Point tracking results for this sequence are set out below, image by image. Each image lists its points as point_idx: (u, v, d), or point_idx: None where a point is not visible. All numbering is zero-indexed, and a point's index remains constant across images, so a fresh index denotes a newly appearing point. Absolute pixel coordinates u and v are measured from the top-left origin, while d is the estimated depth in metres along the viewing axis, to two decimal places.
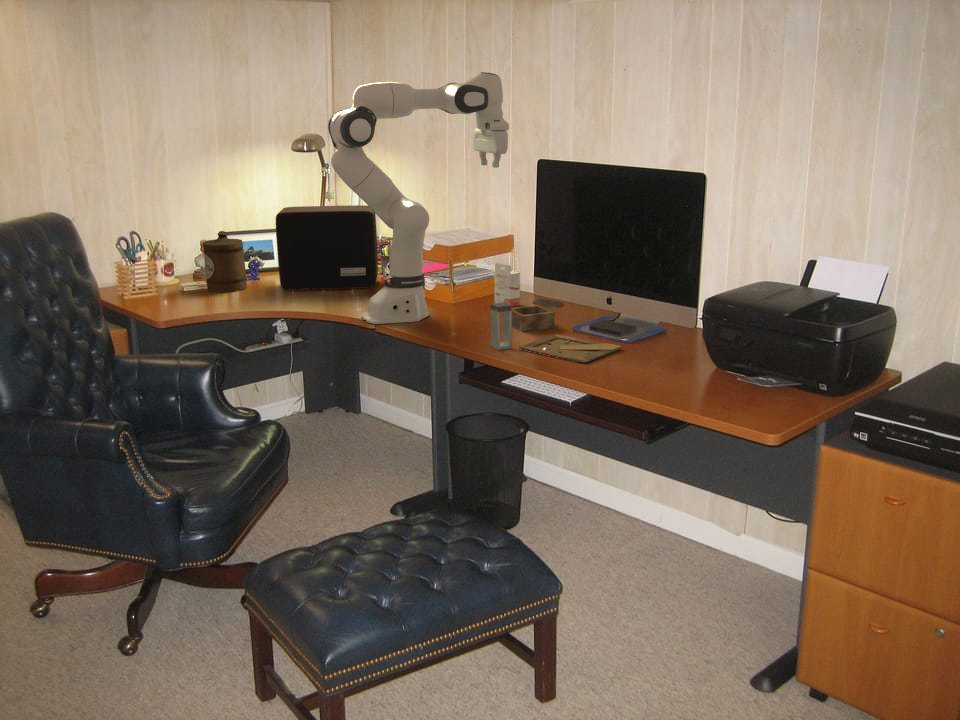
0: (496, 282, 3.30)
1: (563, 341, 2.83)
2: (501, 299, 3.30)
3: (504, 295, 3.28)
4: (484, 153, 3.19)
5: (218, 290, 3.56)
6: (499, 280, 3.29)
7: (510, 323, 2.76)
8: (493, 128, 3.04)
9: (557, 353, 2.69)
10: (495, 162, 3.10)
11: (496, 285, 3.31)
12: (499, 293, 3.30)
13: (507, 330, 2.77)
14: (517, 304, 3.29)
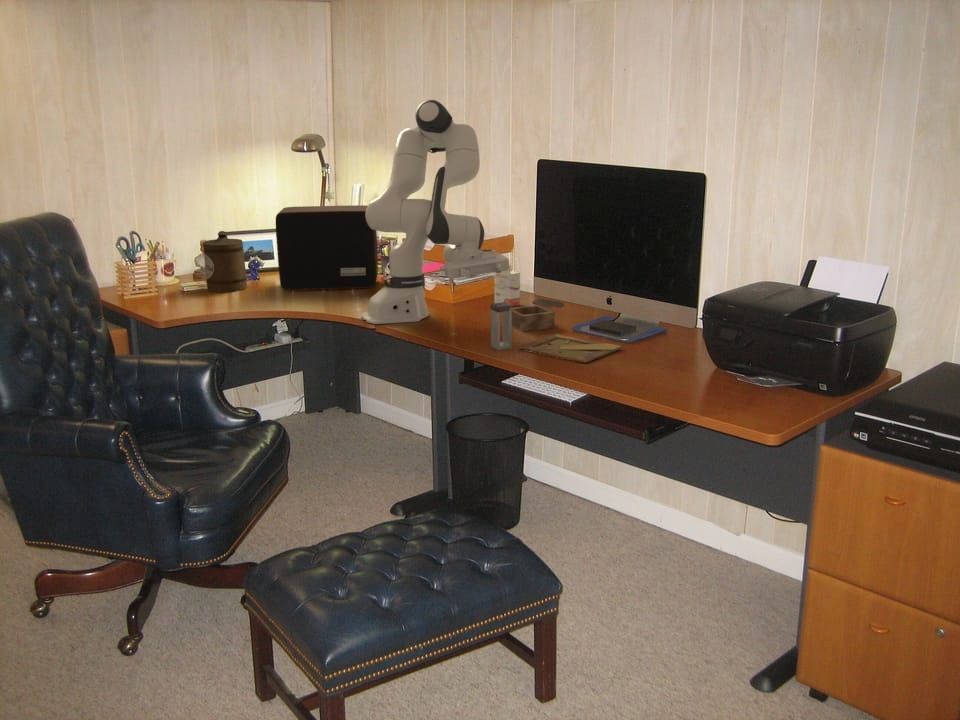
0: (496, 282, 3.30)
1: (563, 341, 2.83)
2: (501, 299, 3.30)
3: (504, 295, 3.28)
4: None
5: (218, 290, 3.56)
6: (499, 280, 3.29)
7: (510, 323, 2.76)
8: (495, 252, 2.98)
9: (557, 353, 2.70)
10: None
11: (496, 285, 3.31)
12: (499, 293, 3.30)
13: (507, 330, 2.77)
14: (517, 304, 3.29)
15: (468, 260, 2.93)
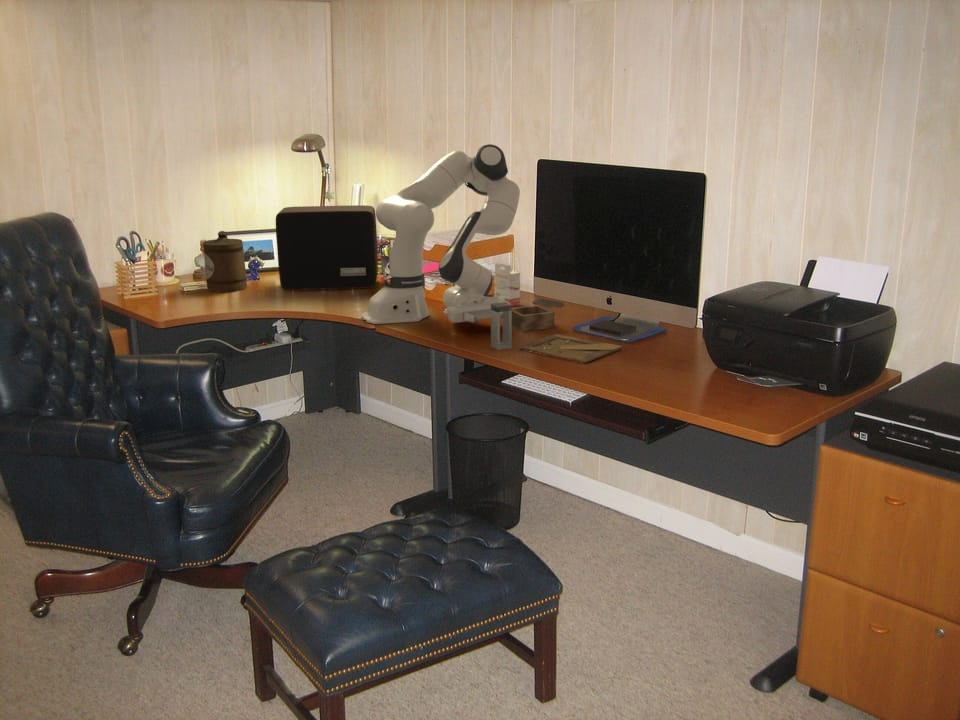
0: (496, 282, 3.30)
1: (563, 341, 2.83)
2: None
3: (504, 295, 3.28)
4: None
5: (218, 290, 3.56)
6: (499, 280, 3.29)
7: (510, 323, 2.76)
8: None
9: (557, 353, 2.70)
10: None
11: (496, 285, 3.31)
12: (499, 293, 3.30)
13: (507, 330, 2.77)
14: (517, 304, 3.29)
15: (471, 305, 2.93)
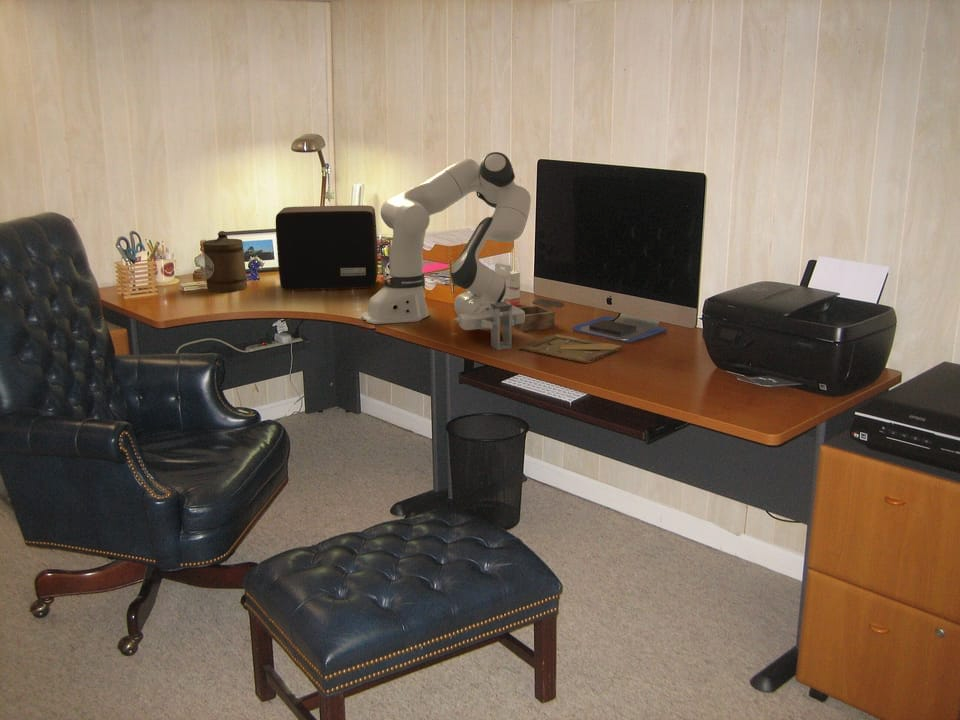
0: None
1: (563, 341, 2.83)
2: None
3: (504, 295, 3.28)
4: None
5: (218, 290, 3.56)
6: None
7: (510, 323, 2.76)
8: None
9: (557, 353, 2.70)
10: None
11: None
12: None
13: (507, 330, 2.77)
14: (517, 304, 3.29)
15: (483, 312, 2.84)
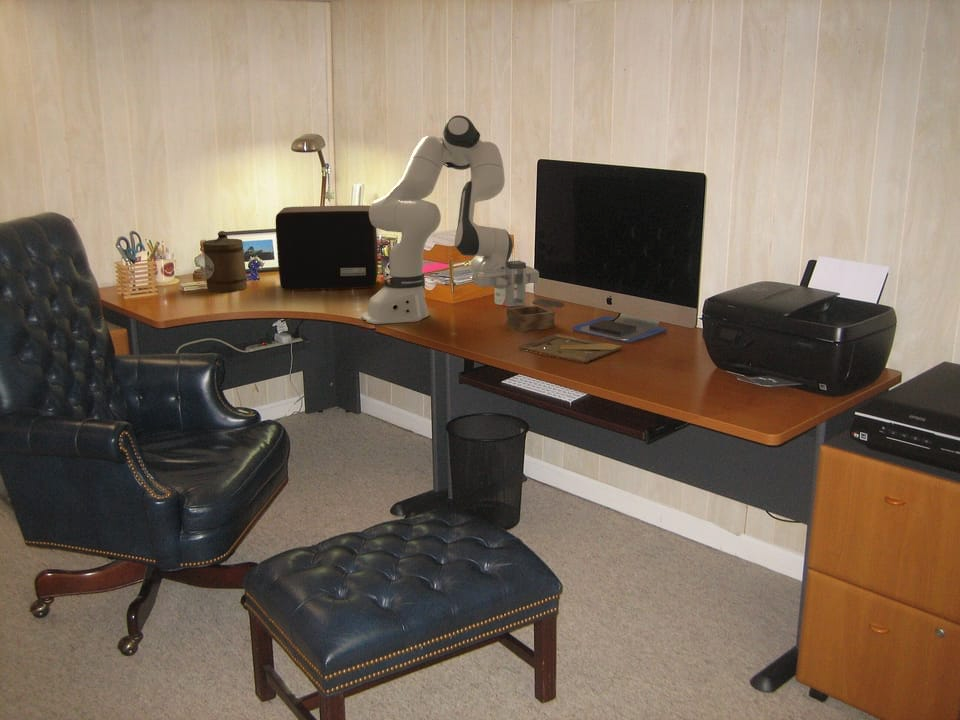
0: None
1: (563, 341, 2.83)
2: (501, 299, 3.30)
3: (504, 295, 3.28)
4: None
5: (218, 290, 3.56)
6: None
7: (524, 280, 2.85)
8: None
9: (557, 353, 2.70)
10: None
11: None
12: (499, 293, 3.30)
13: (521, 287, 2.87)
14: None
15: (498, 270, 2.94)
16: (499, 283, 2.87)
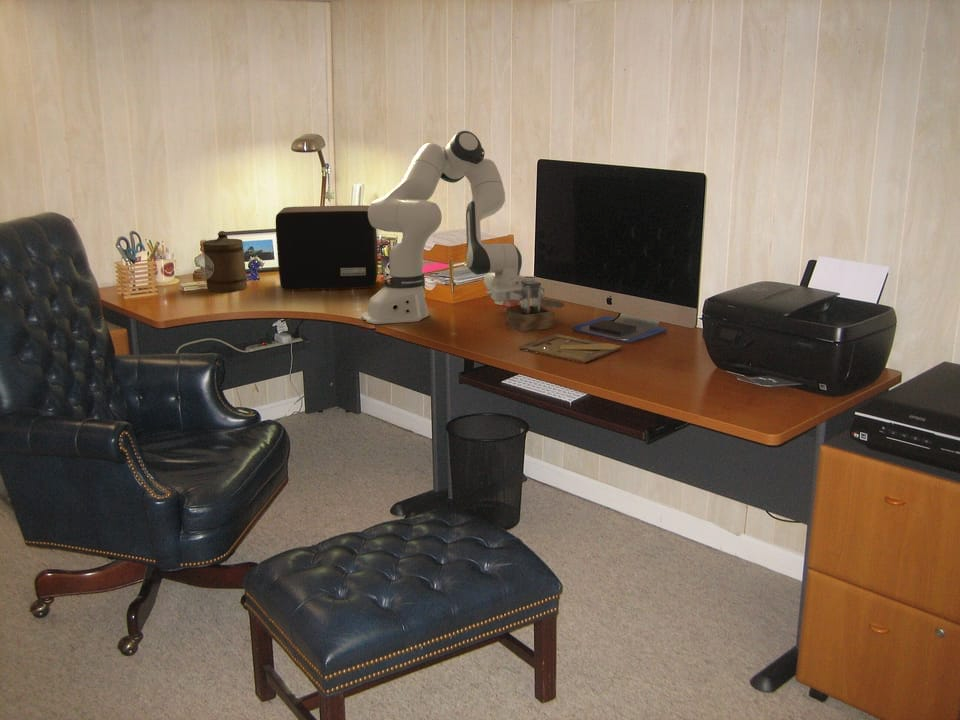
0: None
1: (563, 341, 2.83)
2: None
3: None
4: None
5: (218, 290, 3.56)
6: None
7: (539, 299, 2.99)
8: None
9: (557, 353, 2.70)
10: None
11: None
12: None
13: (536, 306, 3.01)
14: (517, 304, 3.29)
15: (513, 285, 3.08)
16: (512, 298, 3.00)
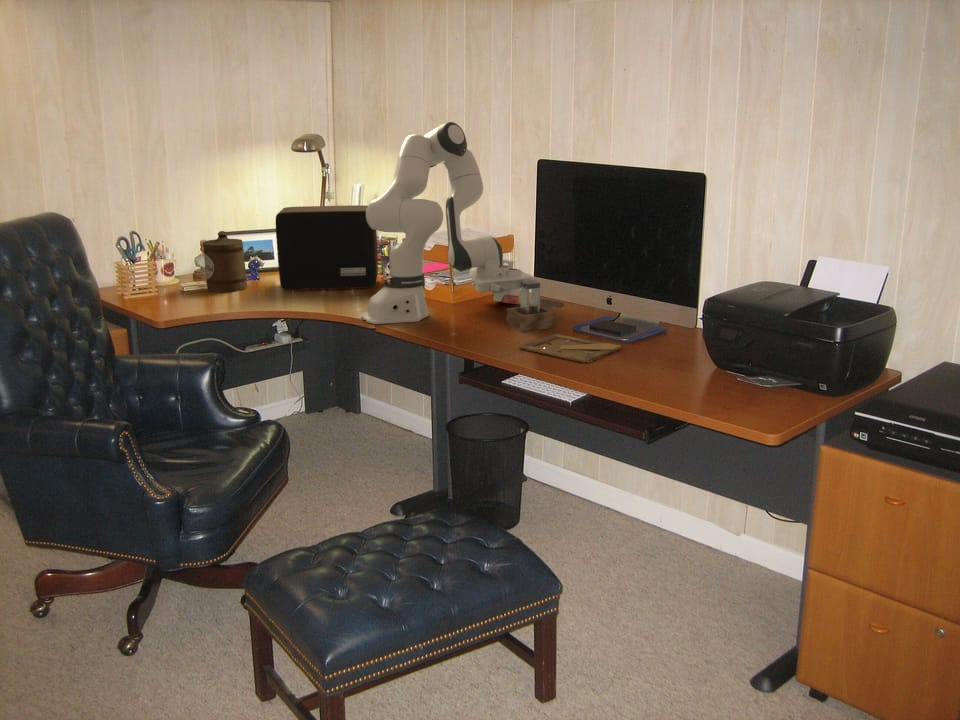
0: None
1: (563, 341, 2.84)
2: (500, 295, 3.31)
3: None
4: None
5: (218, 290, 3.56)
6: None
7: (538, 299, 2.99)
8: None
9: (557, 353, 2.70)
10: None
11: None
12: None
13: (536, 306, 3.01)
14: (515, 302, 3.30)
15: (496, 277, 3.18)
16: (493, 289, 3.11)
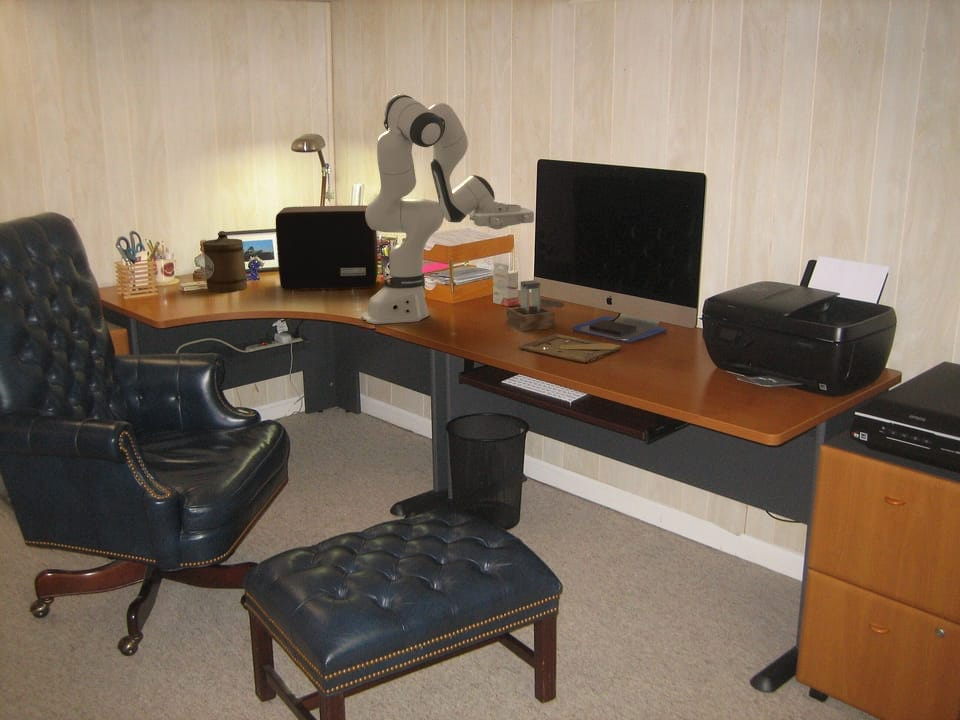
0: (495, 281, 3.31)
1: (563, 341, 2.84)
2: (499, 298, 3.31)
3: (502, 294, 3.30)
4: None
5: (218, 290, 3.56)
6: (497, 280, 3.30)
7: (538, 299, 2.99)
8: None
9: (557, 353, 2.70)
10: None
11: (495, 284, 3.32)
12: (497, 293, 3.31)
13: (536, 306, 3.01)
14: (515, 303, 3.30)
15: (496, 212, 3.13)
16: (492, 223, 3.05)
